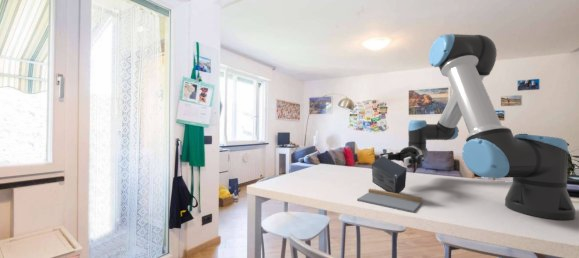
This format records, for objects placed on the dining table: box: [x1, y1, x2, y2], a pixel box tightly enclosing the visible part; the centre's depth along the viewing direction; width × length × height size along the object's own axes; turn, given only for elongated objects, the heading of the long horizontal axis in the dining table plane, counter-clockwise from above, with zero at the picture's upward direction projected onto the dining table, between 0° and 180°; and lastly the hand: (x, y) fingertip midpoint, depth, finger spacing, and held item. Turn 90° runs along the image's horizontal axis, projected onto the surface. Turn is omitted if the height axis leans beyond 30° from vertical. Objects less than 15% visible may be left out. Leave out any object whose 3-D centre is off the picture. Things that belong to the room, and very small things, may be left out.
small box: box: [371, 156, 407, 194], centre depth 91 cm, size 11×6×10 cm
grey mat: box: [356, 188, 423, 214], centre depth 84 cm, size 18×12×2 cm, turn 50°
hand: (392, 161), depth 92 cm, fingers open, 8 cm apart
